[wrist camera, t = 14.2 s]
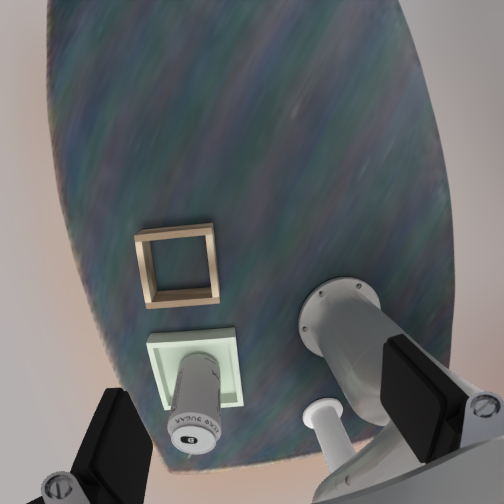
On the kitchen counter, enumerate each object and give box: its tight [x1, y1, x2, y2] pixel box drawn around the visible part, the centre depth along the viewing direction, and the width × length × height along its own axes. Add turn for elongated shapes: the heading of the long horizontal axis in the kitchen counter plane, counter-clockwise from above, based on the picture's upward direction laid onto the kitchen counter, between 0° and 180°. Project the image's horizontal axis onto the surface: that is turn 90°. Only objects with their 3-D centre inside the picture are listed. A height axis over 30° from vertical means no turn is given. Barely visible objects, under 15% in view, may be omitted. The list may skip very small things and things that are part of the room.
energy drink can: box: [168, 354, 221, 454], centre depth 36 cm, size 6×6×15 cm
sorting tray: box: [146, 327, 244, 410], centre depth 43 cm, size 12×12×3 cm
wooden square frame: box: [134, 223, 220, 309], centre depth 39 cm, size 9×9×4 cm
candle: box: [303, 398, 356, 474], centre depth 36 cm, size 7×7×25 cm
